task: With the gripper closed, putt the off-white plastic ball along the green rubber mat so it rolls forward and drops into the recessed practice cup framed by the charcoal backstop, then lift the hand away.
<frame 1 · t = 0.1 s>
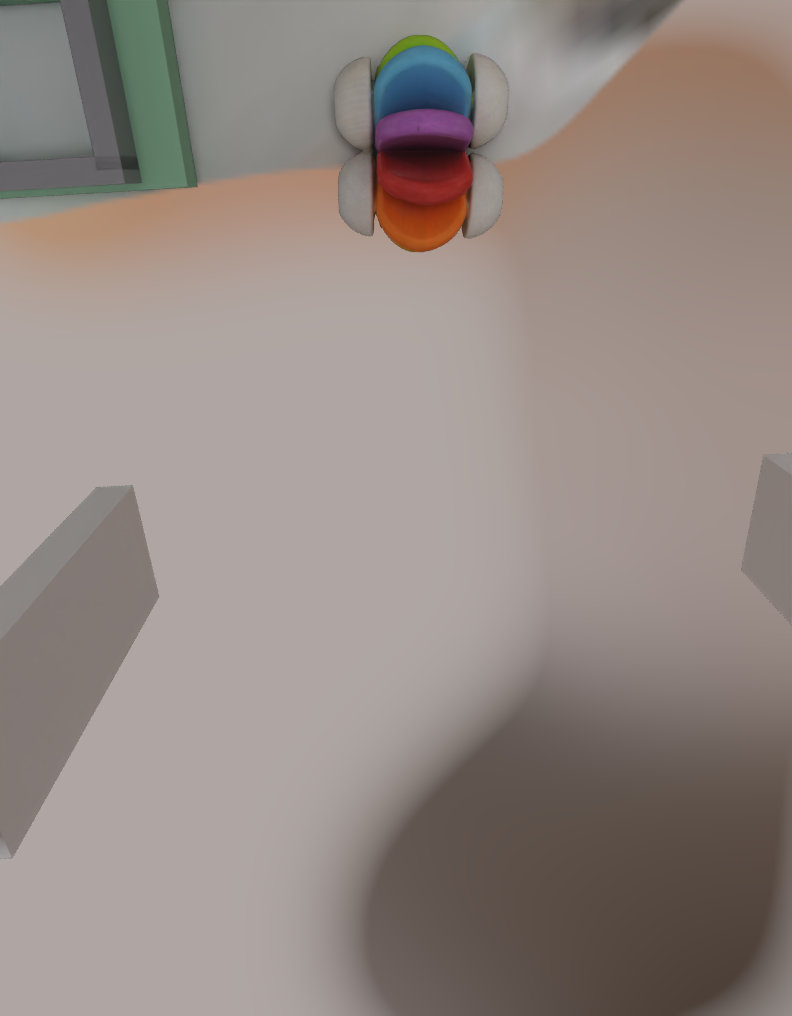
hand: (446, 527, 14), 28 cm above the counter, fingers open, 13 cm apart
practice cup: (25, 81, 33), resting on green mat
toy car: (418, 152, 37), on the counter
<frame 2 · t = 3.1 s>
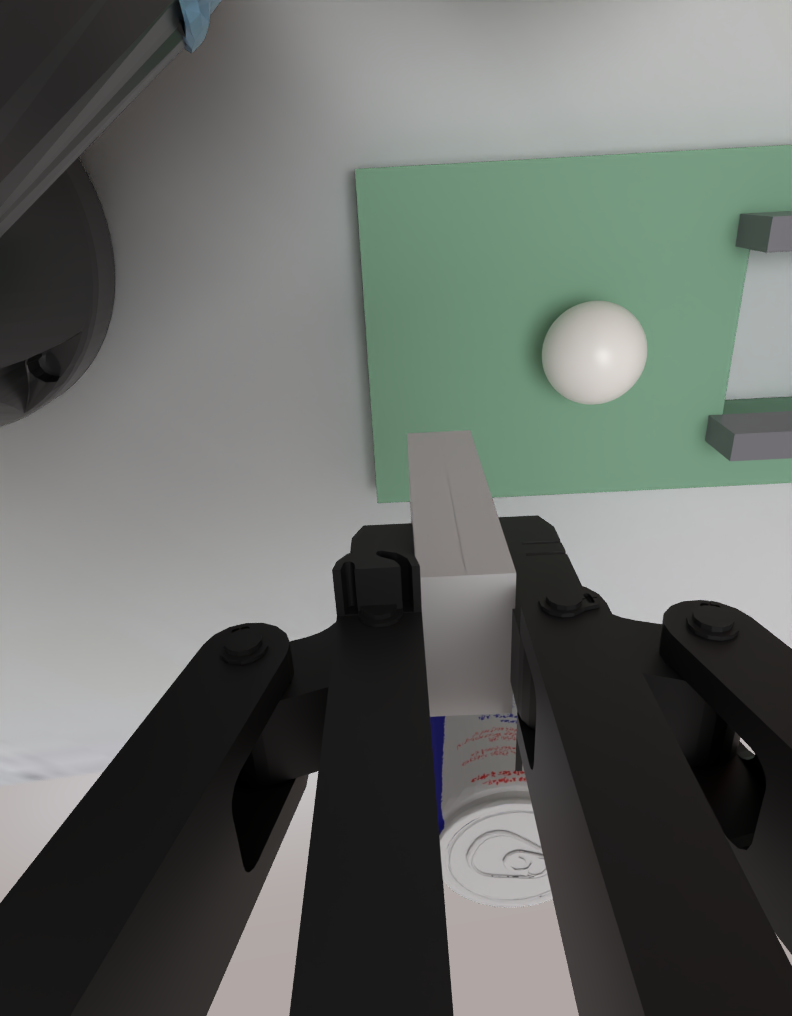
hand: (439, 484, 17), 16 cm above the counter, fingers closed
green mat: (636, 329, 30), on the counter
beverage can: (468, 610, 37), on the counter
ball: (580, 342, 29), point 2 cm above the counter, touching green mat
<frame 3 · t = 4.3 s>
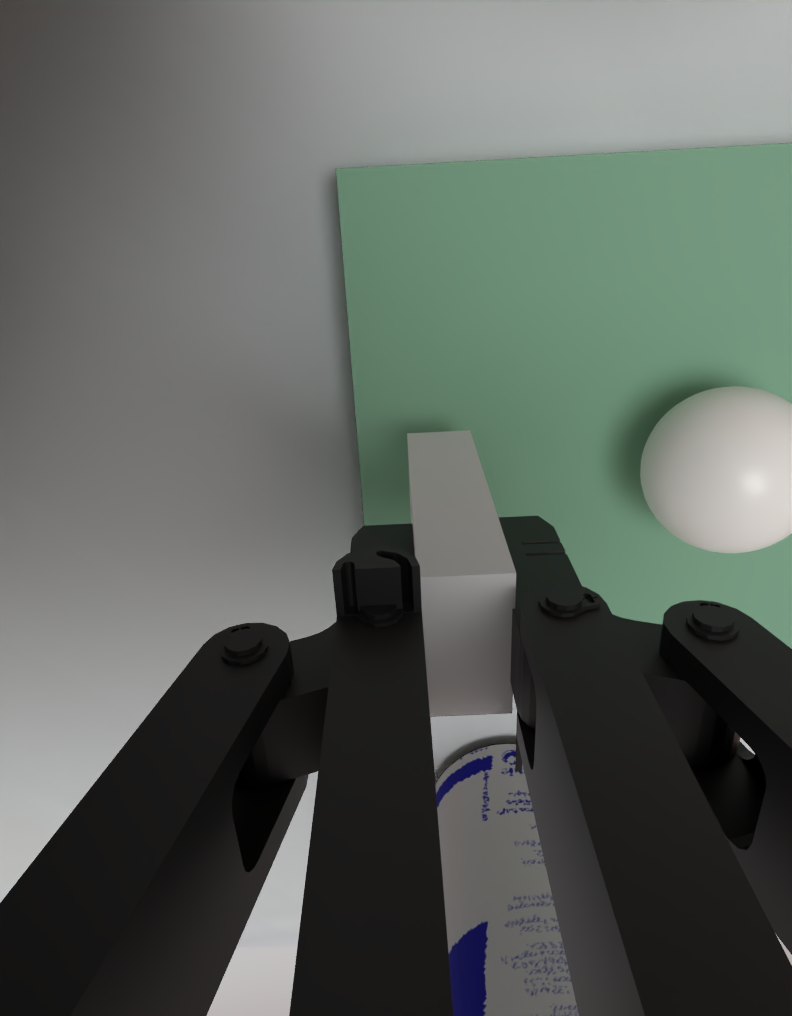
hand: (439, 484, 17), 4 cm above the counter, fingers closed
green mat: (769, 413, 20), on the counter
beverage can: (502, 784, 27), on the counter
ball: (694, 441, 18), point 2 cm above the counter, touching green mat
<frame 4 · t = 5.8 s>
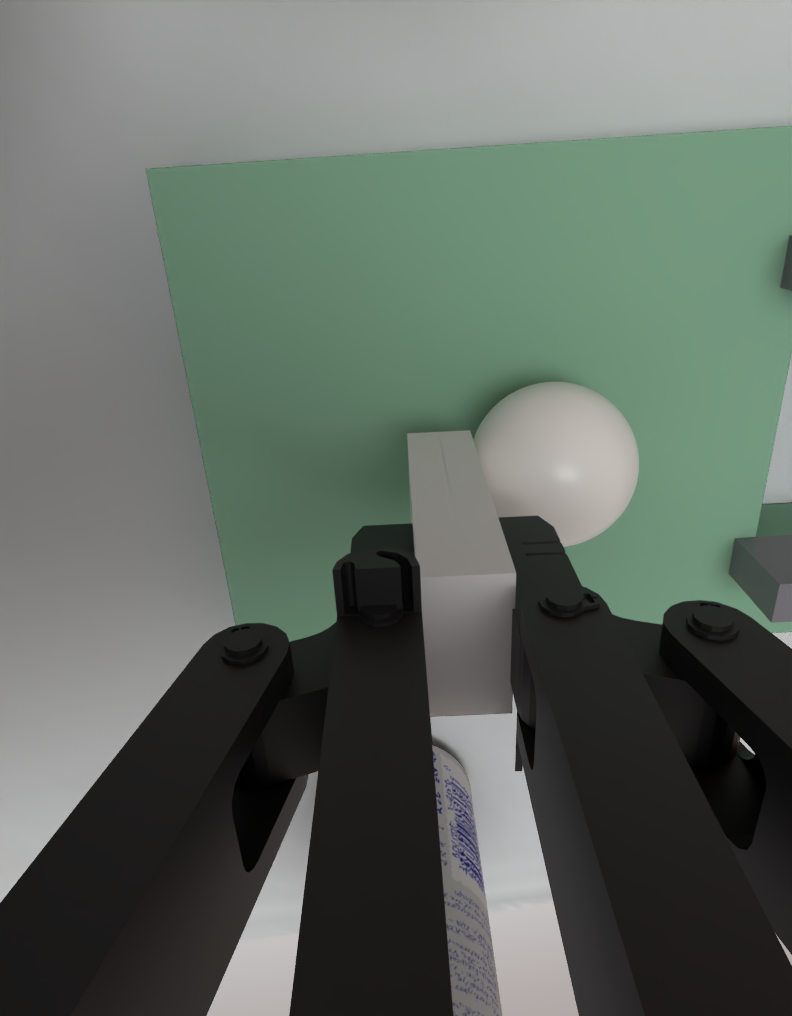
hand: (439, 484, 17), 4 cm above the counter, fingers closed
green mat: (623, 407, 20), on the counter
beverage can: (396, 778, 27), on the counter
ball: (535, 436, 18), point 2 cm above the counter, touching green mat, gripper
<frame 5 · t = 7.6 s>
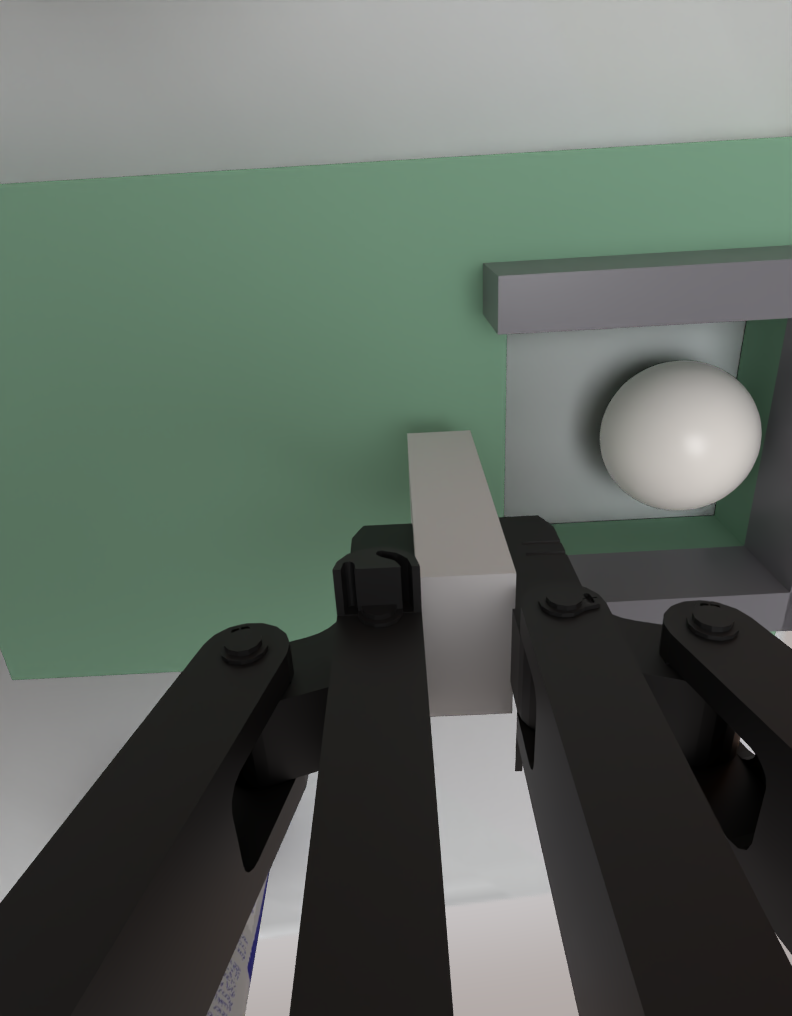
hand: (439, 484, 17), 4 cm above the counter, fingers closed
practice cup: (635, 438, 18), resting on green mat
green mat: (376, 428, 20), on the counter
beverage can: (210, 793, 27), on the counter
ball: (680, 413, 20), resting in green mat, tilted 23°
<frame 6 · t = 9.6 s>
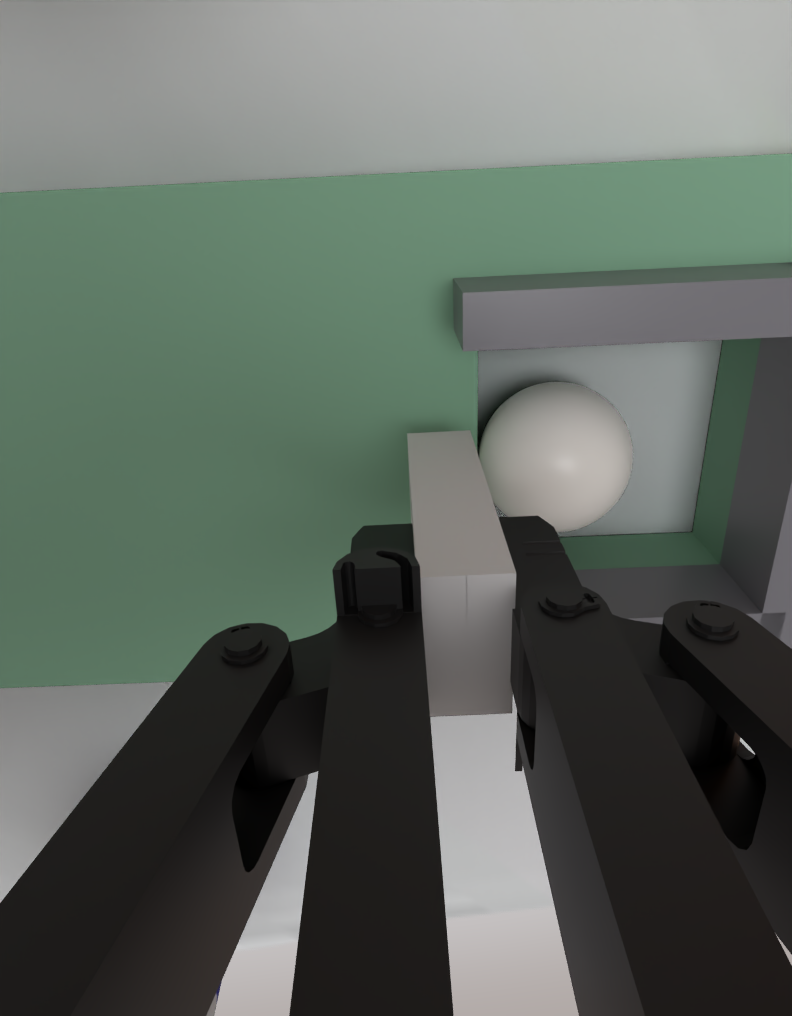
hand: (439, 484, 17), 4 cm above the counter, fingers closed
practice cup: (608, 455, 18), resting on green mat
green mat: (350, 441, 20), on the counter
ball: (631, 457, 18), point 2 cm above the counter, tilted 97°
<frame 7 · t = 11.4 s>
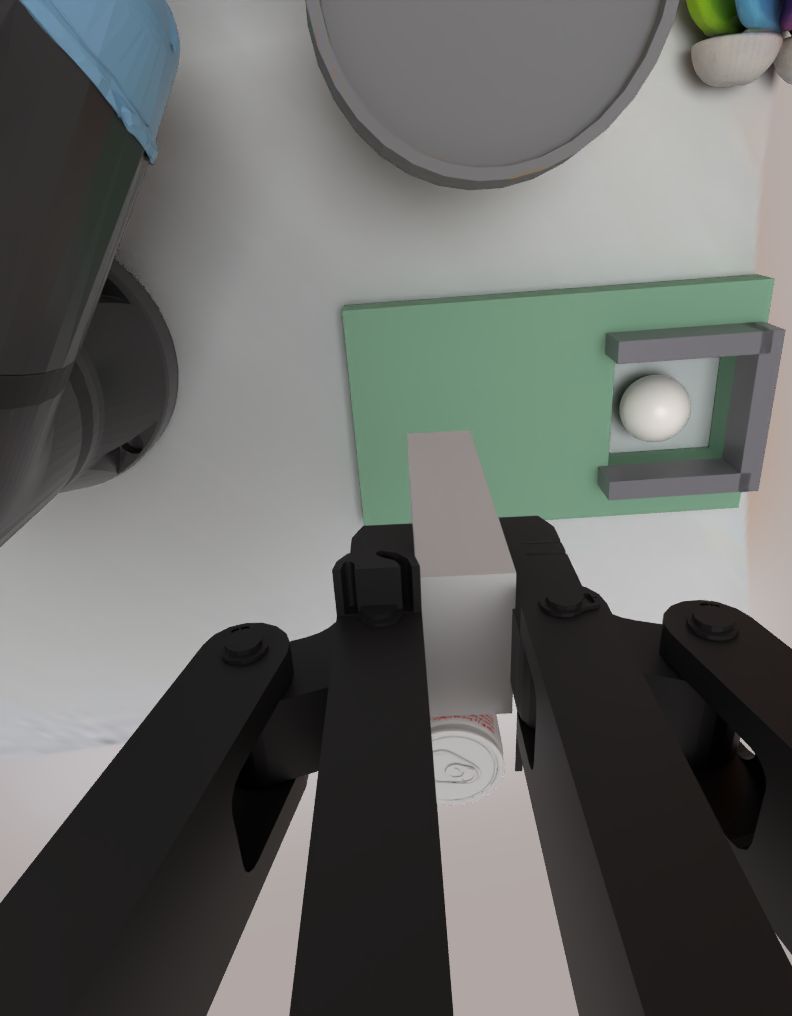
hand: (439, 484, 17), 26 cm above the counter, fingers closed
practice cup: (670, 407, 41), resting on green mat
green mat: (546, 405, 43), on the counter
beverage can: (436, 609, 49), on the counter
ball: (686, 404, 41), point 2 cm above the counter, tilted 83°
reusable coffee cup: (455, 54, 35), on the counter
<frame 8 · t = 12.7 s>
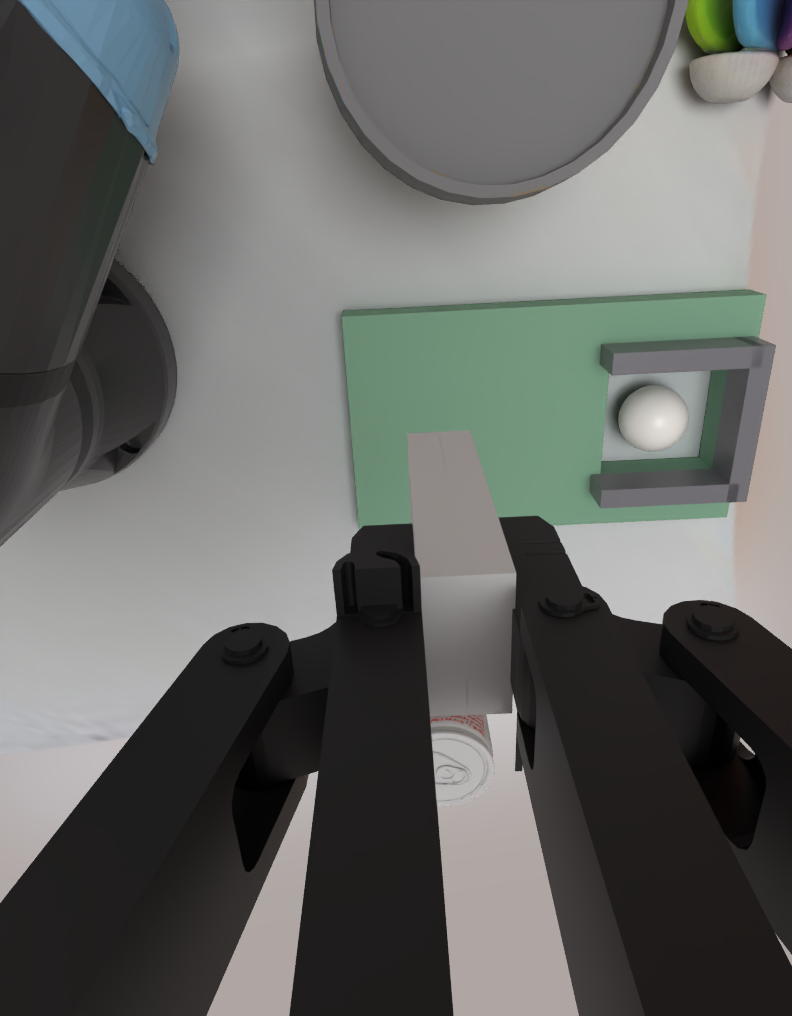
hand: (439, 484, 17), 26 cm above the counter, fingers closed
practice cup: (662, 418, 41), resting on green mat
green mat: (540, 413, 43), on the counter
beverage can: (428, 611, 50), on the counter
toy car: (763, 9, 35), on the counter
ball: (680, 413, 42), point 1 cm above the counter, tilted 72°
reusable coffee cup: (458, 66, 35), on the counter
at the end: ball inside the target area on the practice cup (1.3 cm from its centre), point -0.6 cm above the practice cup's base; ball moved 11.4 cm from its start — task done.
